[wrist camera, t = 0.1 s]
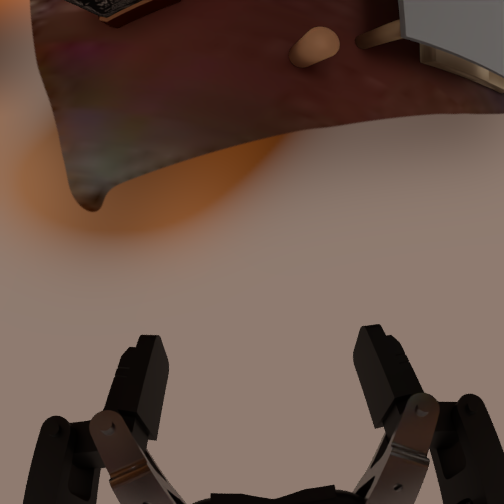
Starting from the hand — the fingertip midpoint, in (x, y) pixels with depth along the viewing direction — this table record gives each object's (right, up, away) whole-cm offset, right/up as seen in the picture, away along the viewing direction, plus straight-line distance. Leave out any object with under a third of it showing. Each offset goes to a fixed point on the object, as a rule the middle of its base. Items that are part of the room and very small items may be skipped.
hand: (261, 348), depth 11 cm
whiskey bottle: (-15, +37, +12) cm, 42 cm away
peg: (+6, +27, +18) cm, 33 cm away
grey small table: (+20, +35, +15) cm, 43 cm away
